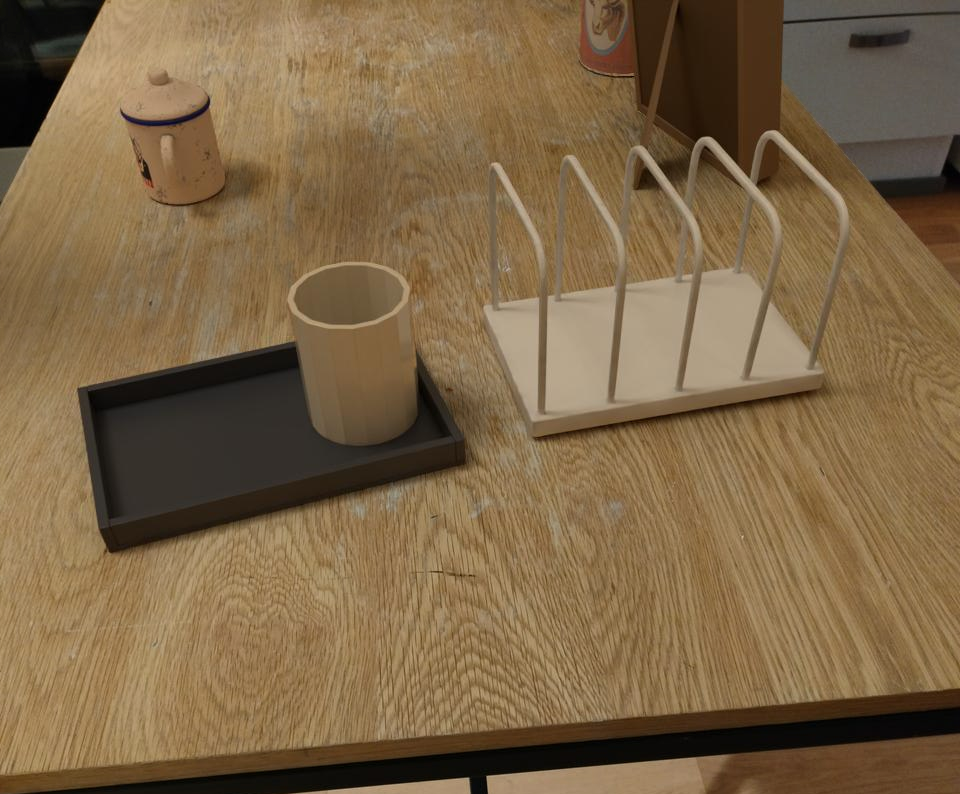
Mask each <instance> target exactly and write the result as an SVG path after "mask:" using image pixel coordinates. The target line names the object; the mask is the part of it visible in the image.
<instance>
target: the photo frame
mask: <svg viewBox="0 0 960 794" xmlns="http://www.w3.org/2000/svg"><path fill="white" fill-rule="evenodd" d="M627 3H628V14H629V25H630V36H631V47H632V57H633V68H634V77H633V78H634V89H635V99H636V109H637V110H638V111H640V112H641V113H642V114H644V115H645V116H646V117H645V121H644V125H643V131H642V135H641V139H640V144H639V146H640V145H641V146H643V147H644V148H645V149H646V150H647V151H648V150H649V146H650V141H651V136H652V132H653V127H654V125H655V124H656V126H657V125H658V126H659V127H658V126H657V127H658V128H660V129H661V130H662V131H663V132H665V133H666V132H667V133H666V134H668V135H669V136H670V137H672V138H673V139H675V141H677V142H678V143H680V144H681V145H683V146H684V147H686V149H688V150H690V151H691V152H693V149H694V146H695V144H696V143H697V141H698V140H699V139H700V138H703V137H711V138H713V139H714V140H715V141H716V142H717V143H718V144H719V145H720V146H721V147H722V149H723V150H724V151H725V152H726V153H727V154H728V155H729V156H730V158H731V159H732V160H733V161H734V162H735V163H736V164H737V165H738V167H739V168H740V169H741V170H742V171H743V172H744V173H745V175H746V176H747V177H748V178H749V179H750V176H751V170H752V165H753V160H754V155H755V150H756V147H757V144H758V141H759V139H760V137H761V136H762V135H763V134H764V133H765V132H767V131H772V130H775V131H778V132H779V133H780V134H781V114H782V113H781V112H782V111H781V110H782V107H781V106H782V81H783V79H782V75H783V45H784V44H783V43H784V12H785V11H784V10H785V0H627ZM637 110H636V111H637ZM638 111H637V112H638ZM642 114H641V115H642ZM653 122H654V123H655V124H654V123H653ZM699 158H700V159H702V160H704V162H706V163H707V164H710V166H712V167H714V168H715V169H716V170H717V171H718V172H720V173H722V175H724V176H726V177H727V178H729V180H731V181H733V182H734V183H735V184H737V185H738V186H740V187H741V188H742V189H744V188H743V187H742V186H741V184H740V183H739V182H738V181H737V180H736V179H735V177H734V176H733V175H732V174H731V173H730V172H729V171H728V170H727V168H726V167H725V166H724V165H723V164H722V162H721V161H720V160H719V159H718V158H717V157H716V156H715V154H714V153H713V152H712V151H711V150H710V149H709V148H708V147H707V146H704V147H703V148H702V150H701V153H700V157H699ZM644 165H645V163H644V162H643V160H642V159H641V158H640V156H639V155H637V157H636V160H635V164H634V169H633V186H632V189H633V188H634V189H638V187H639V183H640V181H641V177H642V173H643V168H644ZM779 170H780V147H779V146H778V145H777V144H776V143H775V142H774V141H773V140H772V139H769V140H768V141H767V143H766V145H765V147H764V150H763V154H762V159H761V164H760V169H759V174H758V180H757V183H758V182H760V181H762V180H764V179H766V178H767V177H770V176H771V175H773V174H775V173H777V172H779Z"/></svg>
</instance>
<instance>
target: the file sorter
mask: <svg viewBox="0 0 960 794" xmlns="http://www.w3.org/2000/svg"><path fill="white" fill-rule="evenodd" d="M769 139H772V140H773V141H774V142H775V143H776V144H777V145H778V146H779V149H781V151H783V153H785V154H786V155H787V156H788V158H789V159H791V160H792V162H794V163H795V165H796V166H797V167H798V168H800V170H801V171H802V172H803V173H804V174H805V175H806V176H807V177H808V178H809V179H810V180H811V181H812V182H813V183H814V184H815V185H816V186H817V188H818V189H820V191H822V192H823V193H824V195H825V196H826V197H827V198H828V199H829V200H830V201H831V202H832V203H833V205H834V207H835V209H836V212H837V214H838V218H839V240H838V243H837V249H836V252H835V257H834V260H833V263H832V267H831V271H830V274H829V279H828V282H827V283H828V284H827V287H826V289H825V290H826V291H825V294H824V297H823V301H822V305H821V308H820V312H819V316H818V320H817V325H816V328H815V330H814V334H813V339H812V342H811V347H810V350H809V349H808V347H807V346H806V344H805V343H804V341H802V340H801V338H800V337H799V336H798V335H797V333H796V332H795V331H794V330H793V328H792V326H791V325H790V324H789V323H788V322H787V320H786V319H785V317H784V316H783V315H782V314H781V313H780V312H779V310H778V309H777V307H776V306H775V305H774V304H773V302H772V301H771V297H772V295H773V291H774V288H775V287H774V286H775V282H776V278H777V274H778V271H779V267H780V263H781V258H782V253H783V241H784V240H783V229H782V224H781V219H780V217H779V215H778V212H777V210H776V209H775V207H774V206H773V204H772V203H771V202H770V201H769V199H768V198H767V197H766V196H765V195H764V194H763V193H762V192H761V190H760V189H759V188H758V187H757V184H758V182H757V180H758V174H759V169H760V164H761V159H762V154H763V150H764V147H765V145H766V143H767V141H768V140H769ZM704 146H707V147H708V148H709V149H710V150H711V151H712V152H713V153H714V154H715V156H716V157H717V158H718V159H719V160H720V161H721V162H722V164H723V165H724V166H725V167H726V168H727V170H728V171H729V172H730V173H731V174H732V175H733V176H734V177H735V179H736V180H737V181H738V182H739V183H740V184H741V186H742V187H743V188H742V187H741V186H740V187H741V188H742V189H744V190H745V191H746V199H745V204H744V207H743V208H744V209H743V214H742V220H741V225H740V230H739V236H738V242H737V247H736V252H735V260H734V264H733V266H732V267H728V268H720V269H713V270H708V271H703V267H704V246H703V245H704V244H703V237H702V236H703V235H702V232H701V229H700V226H699V224H698V222H697V219H696V218H695V216H694V214H693V213H692V208H693V202H694V194H695V188H696V187H695V186H696V179H697V174H698V166H699V161H700V158H701V157H700V153H701V150H702V148H703V147H704ZM638 155H639V156H640V158H641V159H642V160H643V162H644V165H645V166H646V167H647V169H648V170H649V172H650V173H651V175H652V176H653V177H654V179H655V180H656V181H657V182H658V184H659V186H660V187H661V189H662V190H663V191H664V193H665V195H666V196H667V197H668V199H669V200H670V201H671V203H672V204H673V206H674V207H675V209H676V211H677V212H678V213H679V215H680V216H681V217H682V220H681V228H680V235H679V242H678V249H677V257H676V265H675V266H676V267H675V272H674V276H668V277H664V278H656V279H651V280H643V281H637V282H630V283H627V280H628V271H627V270H628V267H627V265H628V263H627V253H626V248H627V239H628V238H627V237H628V228H629V217H630V215H629V214H630V208H631V207H630V205H631V200H632V199H631V198H632V191H633V179H634V170H635V164H636V160H637V156H638ZM570 168H571V169H572V171H573V173H574V174H575V176H576V177H577V179H578V181H579V183H580V184H581V186H582V188H583V190H584V191H585V193H586V194H587V197H588V199H589V200H590V201H591V203H592V205H593V207H594V209H595V210H596V211H597V213H598V215H599V217H600V218H601V220H602V222H603V223H604V225H605V226H606V228H607V230H608V232H609V234H610V235H611V237H612V240H613V243H614V247H615V250H616V256H617V260H616V268H615V269H616V271H615V284H614V285H611V286H604V287H597V288H591V289H584V290H578V291H571V292H565V293H562V288H563V287H562V284H563V266H564V265H563V264H564V263H563V262H564V245H565V221H566V205H567V187H568V186H567V185H568V174H569V169H570ZM624 171H625V172H624V173H625V174H624V182H623V193H622V205H621V213H620V223H619V224H620V226H619V227H618V225H617V223H616V221H615V220H614V218H613V217H612V214H611V213H610V212H609V210H608V208H607V206H606V204H605V203H604V202H603V199H602V198H601V197H600V195H599V193H598V192H597V189H596V188H595V186H594V185H593V183H592V181H591V179H590V178H589V177H588V175H587V173H586V171H585V170H584V168H583V166H582V165H581V163H580V162H579V159H578V158H577V157H576V156H575V155H574V154H567V155H565V156H564V157H563V158H562V161H561V162H560V169H559V179H558V198H557V199H558V200H557V224H556V245H555V267H554V291H553V292H554V294H551V295H549V294H548V293H549V282H548V267H547V260H546V253H545V251H544V246H543V243H542V239H541V236H540V234H539V233H538V230H537V229H536V227H535V225H534V222H533V221H532V219H531V217H530V215H529V214H528V211H527V210H526V208H525V206H524V205H523V203H522V201H521V199H520V197H519V195H518V193H517V192H516V189H515V188H514V186H513V184H512V182H511V181H510V178H509V177H508V175H507V173H506V171H505V169H504V168H503V166H502V165H501V163H500V162H492V163H491V164H490V165H489V167H488V171H487V202H488V203H487V205H488V231H489V259H490V260H489V262H490V264H489V265H490V288H491V289H490V291H491V293H490V294H491V304H484V306H482V323H483V326H484V328H485V330H486V333H487V335H488V337H489V340H490V342H491V345H492V347H493V349H494V352H495V354H496V356H497V358H498V361H499V363H500V365H501V368H502V370H503V373H504V375H505V377H506V380H507V382H508V385H509V387H510V389H511V392H512V394H513V396H514V399H515V401H516V403H517V406H518V408H519V412H520V413H521V416H522V418H523V420H524V423H525V425H526V427H527V430H528V433H529V435H530V436H531V437H532V438H533V437H534V438H538V437H543V436H548V435H555V434H560V433H566V432H571V431H577V430H582V429H583V430H585V429H589V428H594V427H600V426H601V427H602V426H606V425H612V424H618V423H624V422H630V421H636V420H641V419H647V418H653V417H659V416H665V415H669V414H670V415H671V414H678V413H682V412H690V411H694V410H695V411H696V410H700V409H706V408H712V407H718V406H722V405H723V406H725V405H729V404H737V403H740V402H748V401H753V400H754V401H755V400H759V399H766V398H771V397H778V396H782V395H789V394H795V393H801V392H807V391H813V390H818V389H821V387H822V385H823V381H824V376H825V370H824V368H823V367H822V366H821V364H820V363H819V361H818V360H817V359H818V356H819V353H820V348H821V345H822V342H823V337H824V334H825V331H826V327H827V324H828V320H829V316H830V313H831V309H832V304H833V301H834V297H835V293H836V290H837V287H838V283H839V279H840V275H841V271H842V268H843V264H844V261H845V257H846V253H847V249H848V245H849V238H850V232H851V231H850V230H851V221H850V214H849V210H848V209H849V208H848V206H847V204H846V201H845V199H844V197H843V196H842V194H841V193H840V192H839V191H838V190H837V189H836V188H835V187H834V186H833V185H832V184H831V182H829V181H828V180H827V179H826V178H825V176H823V175H822V173H820V172H819V171H818V170H817V169H816V167H815V166H813V164H812V163H811V162H809V160H808V159H807V158H806V157H805V156H804V155H802V153H801V152H800V151H799V150H798V149H797V148H796V147H794V145H793V144H792V143H790V142H789V140H788V139H786V137H784V136H783V134H781V132H780V133H779V132H778V131H775V130H772V131H767V132H765V133H764V134H763V135H762V136H761V137H760V139H759V141H758V144H757V147H756V150H755V155H754V160H753V165H752V170H751V176H750V179H749V178H748V177H747V176H746V175H745V173H744V172H743V171H742V170H741V169H740V168H739V167H738V165H737V164H736V163H735V162H734V161H733V160H732V159H731V158H730V156H729V155H728V154H727V153H726V152H725V151H724V150H723V149H722V147H721V146H720V145H719V144H718V143H717V142H716V141H715V140H714V139H713V138H711V137H703V138H700V139H699V140H698V141H697V143H696V144H695V146H694V149H693V151H691V156H690V161H689V167H688V175H687V176H688V177H687V183H686V190H685V197H684V200H683V199H682V197H681V196H680V195H679V193H678V192H677V190H676V189H675V187H674V185H673V184H672V183H671V182H670V180H669V179H668V177H667V176H666V175H665V174H664V172H663V170H662V169H661V168H660V166H659V165H658V164H657V162H656V161H655V160H654V158H653V156H652V155H651V154H650V153H649V151H648V150H646V149H645V148H644V147H643V146H641V145H640V144H639V145H633V147H631V149H630V150H629V153H628V155H627V159H626V163H625V170H624ZM497 178H498V180H499V182H500V184H501V186H502V188H503V189H504V192H505V194H506V195H507V197H508V199H509V201H510V203H511V205H512V207H513V208H514V211H515V212H516V214H517V216H518V217H519V219H520V221H521V223H522V226H523V227H524V229H525V231H526V233H527V235H528V236H529V238H530V240H531V243H532V246H533V249H534V254H535V257H536V264H537V270H538V297H530V298H524V299H518V300H512V301H505V302H499V259H498V256H499V255H498V226H497V225H498V224H497V223H498V222H497ZM754 202H755V203H756V205H757V206H759V208H760V209H761V210H762V211H763V213H764V214H765V216H766V218H767V220H768V221H769V224H770V227H771V231H772V252H771V257H770V262H769V267H768V271H767V275H766V278H765V283H764V286H763V290H762V288H761V287H760V285H759V284H758V283H757V281H755V279H754V278H753V277H752V276H751V274H750V273H749V272H748V270H747V269H746V268H745V267H744V266H742V265H743V258H744V254H745V248H746V242H747V237H748V232H749V226H750V222H751V217H752V216H751V215H752V212H753V211H752V210H753V205H754ZM689 232H690V235H691V238H692V243H693V270H692V273H689V274H688V273H687V274H683V271H684V263H685V257H686V249H687V242H688V236H689V235H688V234H689Z"/></svg>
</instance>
